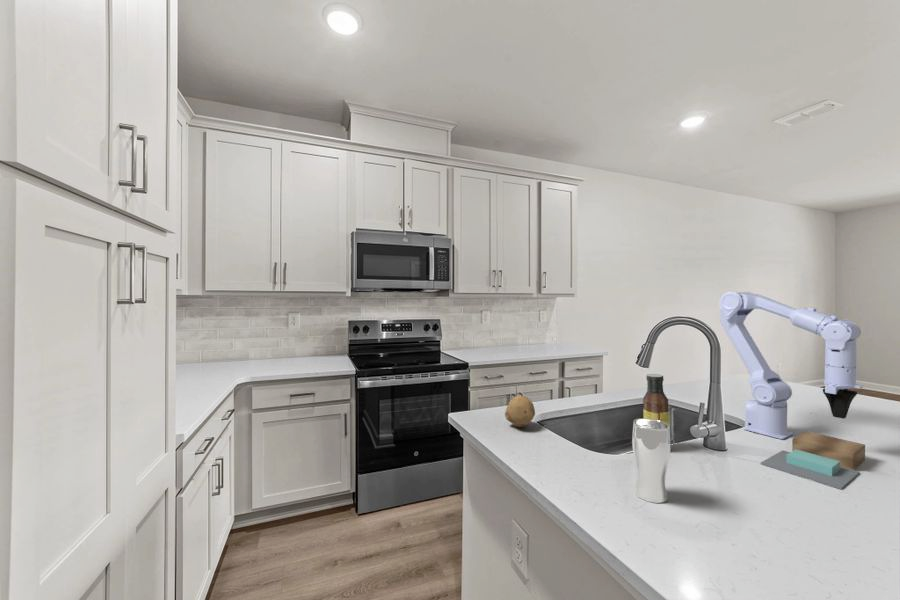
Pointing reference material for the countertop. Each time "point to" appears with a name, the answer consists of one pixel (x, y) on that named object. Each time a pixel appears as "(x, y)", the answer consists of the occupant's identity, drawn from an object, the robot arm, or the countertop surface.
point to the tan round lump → (520, 411)
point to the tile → (813, 462)
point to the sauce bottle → (656, 400)
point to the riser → (831, 448)
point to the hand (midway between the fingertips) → (839, 417)
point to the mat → (811, 471)
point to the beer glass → (651, 458)
